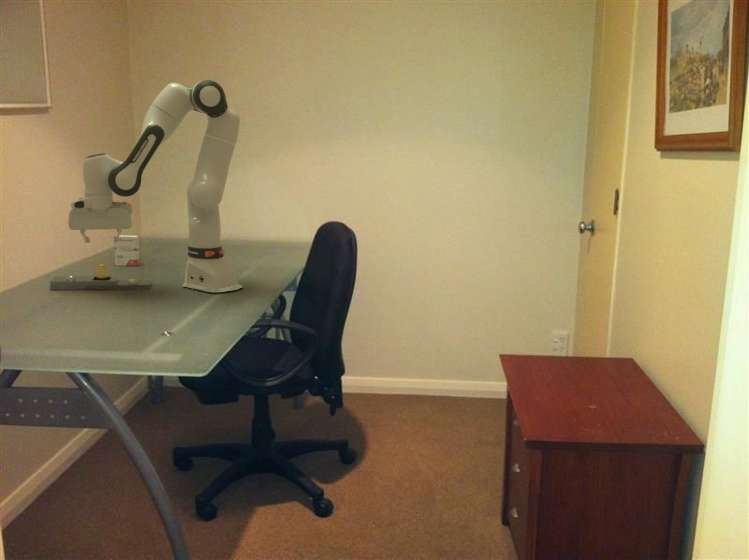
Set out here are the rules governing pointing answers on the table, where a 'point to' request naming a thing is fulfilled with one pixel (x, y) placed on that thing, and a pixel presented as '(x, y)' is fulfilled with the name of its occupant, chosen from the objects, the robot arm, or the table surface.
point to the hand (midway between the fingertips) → (102, 242)
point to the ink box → (127, 251)
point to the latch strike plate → (96, 283)
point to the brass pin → (101, 272)
